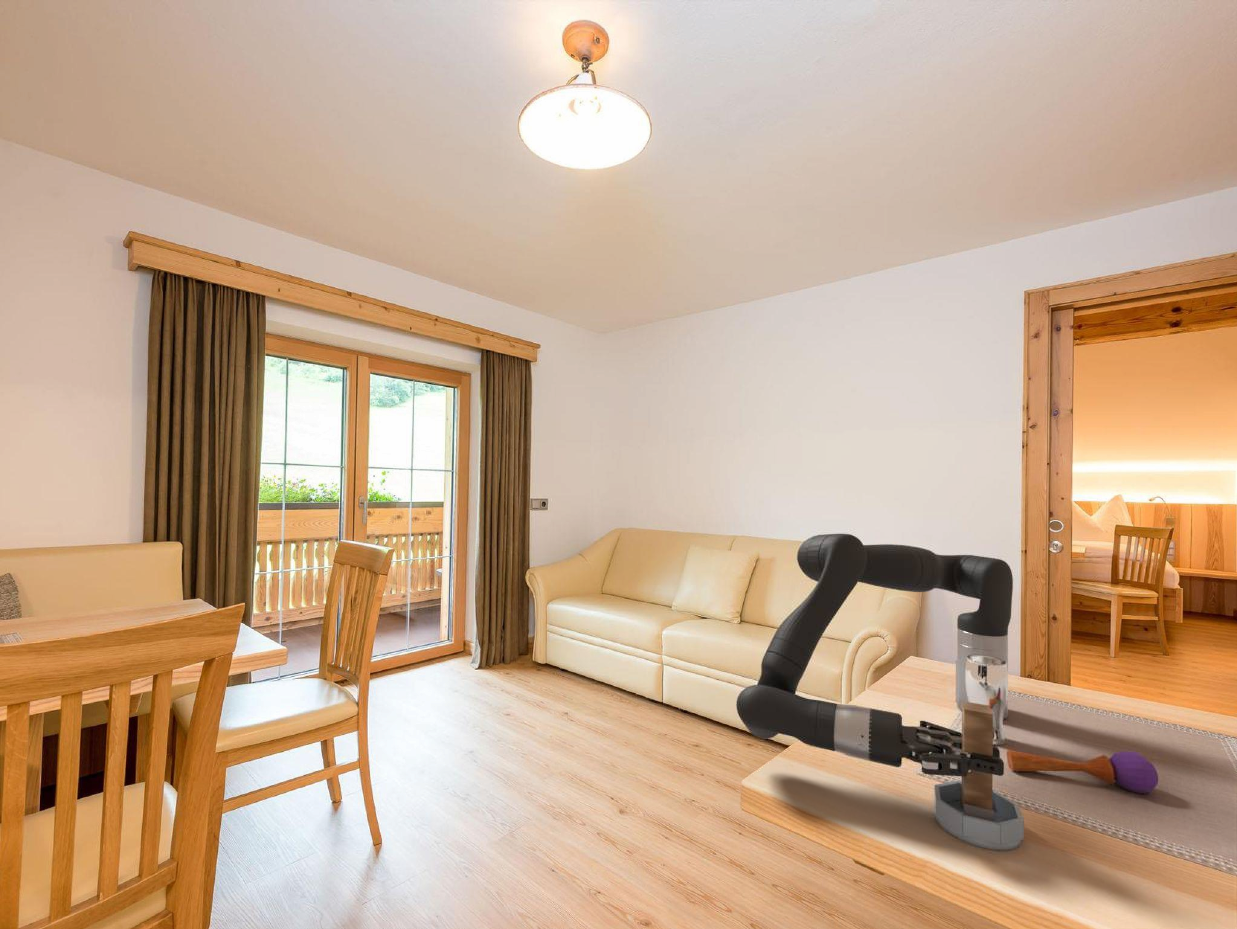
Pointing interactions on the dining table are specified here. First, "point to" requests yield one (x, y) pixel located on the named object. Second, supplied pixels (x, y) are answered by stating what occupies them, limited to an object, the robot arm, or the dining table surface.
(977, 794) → the wooden block
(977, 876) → the dining table surface
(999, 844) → the blue-grey octagonal holder
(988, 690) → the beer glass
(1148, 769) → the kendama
